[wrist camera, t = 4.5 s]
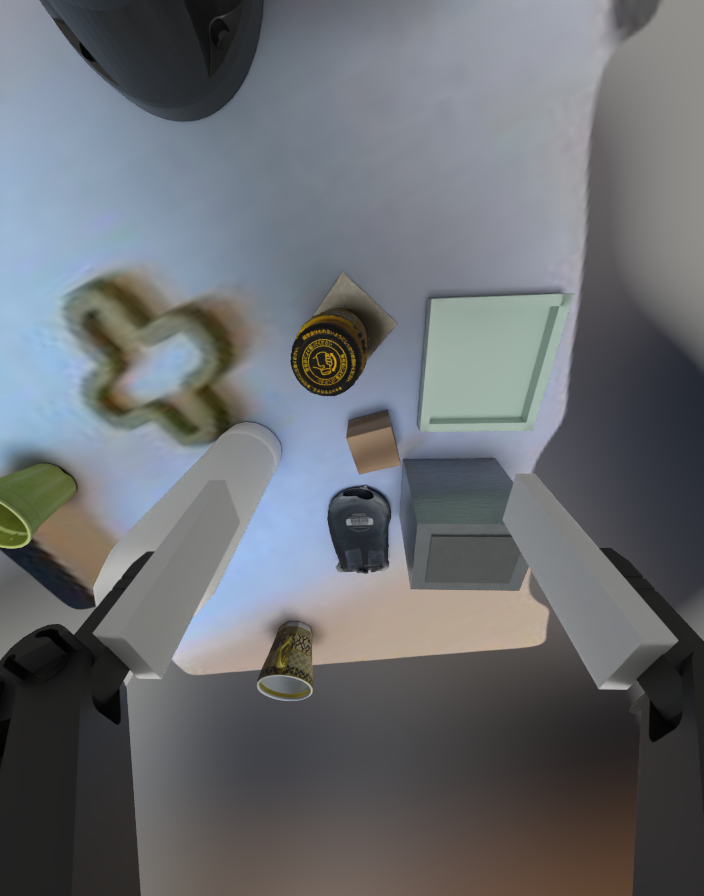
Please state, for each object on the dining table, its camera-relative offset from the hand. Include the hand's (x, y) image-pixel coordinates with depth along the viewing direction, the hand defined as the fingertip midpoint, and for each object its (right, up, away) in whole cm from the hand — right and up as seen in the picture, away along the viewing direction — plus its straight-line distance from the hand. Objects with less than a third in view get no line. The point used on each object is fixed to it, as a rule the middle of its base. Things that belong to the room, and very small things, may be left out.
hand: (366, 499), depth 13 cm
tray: (+14, +11, +18) cm, 26 cm away
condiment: (-1, +15, +17) cm, 23 cm away
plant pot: (-45, -2, +29) cm, 53 cm away
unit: (+12, -3, +27) cm, 30 cm away
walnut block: (+2, +4, +23) cm, 24 cm away
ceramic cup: (-12, -34, +45) cm, 58 cm away
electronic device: (+1, -9, +31) cm, 33 cm away
